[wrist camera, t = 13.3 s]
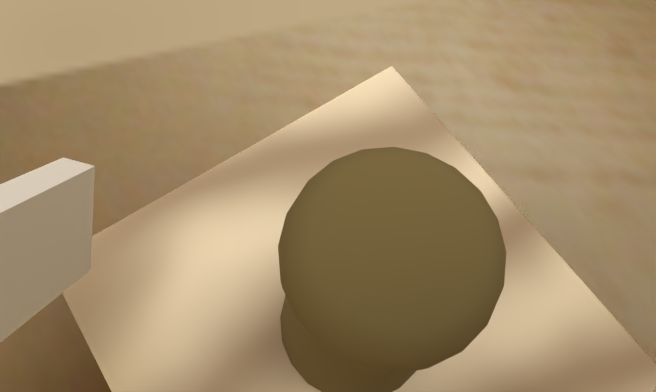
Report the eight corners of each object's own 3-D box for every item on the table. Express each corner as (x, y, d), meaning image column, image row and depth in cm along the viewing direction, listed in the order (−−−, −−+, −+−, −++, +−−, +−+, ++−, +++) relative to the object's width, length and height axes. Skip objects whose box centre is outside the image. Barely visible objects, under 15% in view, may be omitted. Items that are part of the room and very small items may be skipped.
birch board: (646, 381, 21) (669, 379, 20) (286, 710, 17) (284, 737, 15) (387, 83, 27) (391, 66, 25) (63, 271, 22) (46, 262, 21)
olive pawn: (312, 228, 22) (316, 71, 12) (447, 278, 21) (574, 157, 11) (255, 366, 20) (200, 318, 9) (404, 427, 19) (515, 444, 9)
